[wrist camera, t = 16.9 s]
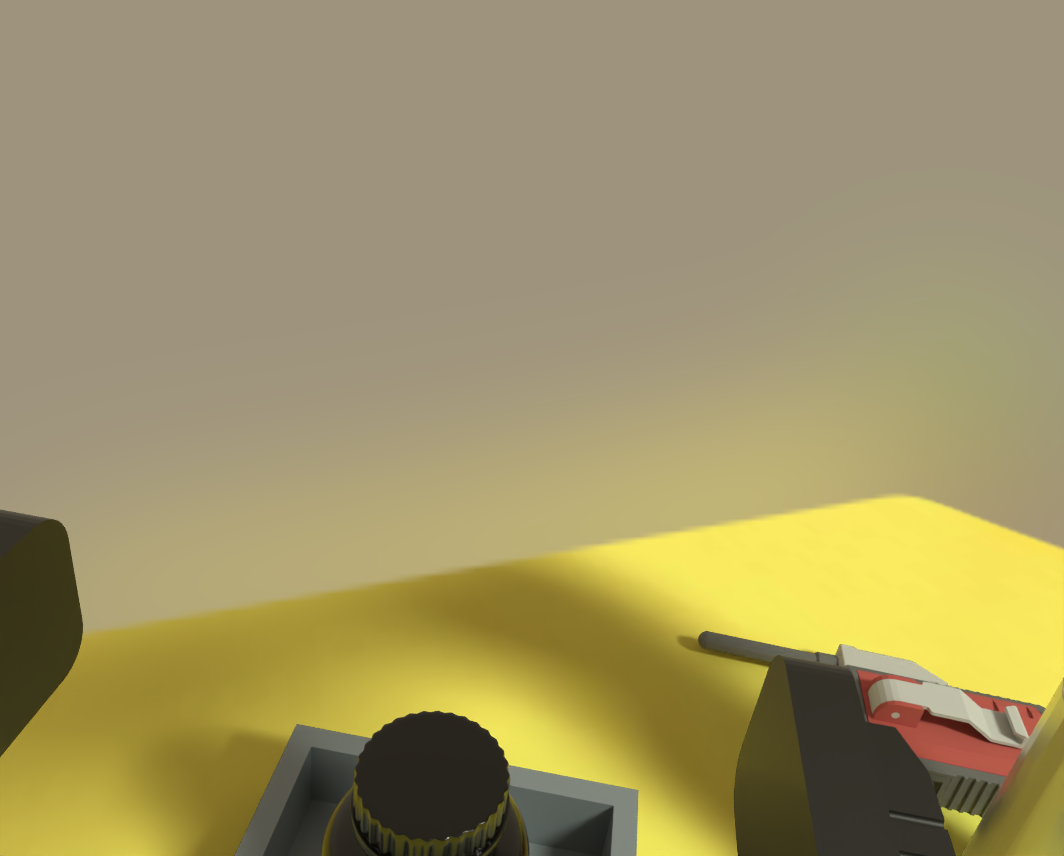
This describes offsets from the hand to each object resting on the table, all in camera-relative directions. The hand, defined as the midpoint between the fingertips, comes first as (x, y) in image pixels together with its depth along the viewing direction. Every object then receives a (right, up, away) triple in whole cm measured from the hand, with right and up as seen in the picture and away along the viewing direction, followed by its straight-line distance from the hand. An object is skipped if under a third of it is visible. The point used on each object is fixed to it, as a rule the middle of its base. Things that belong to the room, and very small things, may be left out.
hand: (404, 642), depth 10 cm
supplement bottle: (-3, -19, +23) cm, 30 cm away
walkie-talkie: (+20, -15, +38) cm, 45 cm away
